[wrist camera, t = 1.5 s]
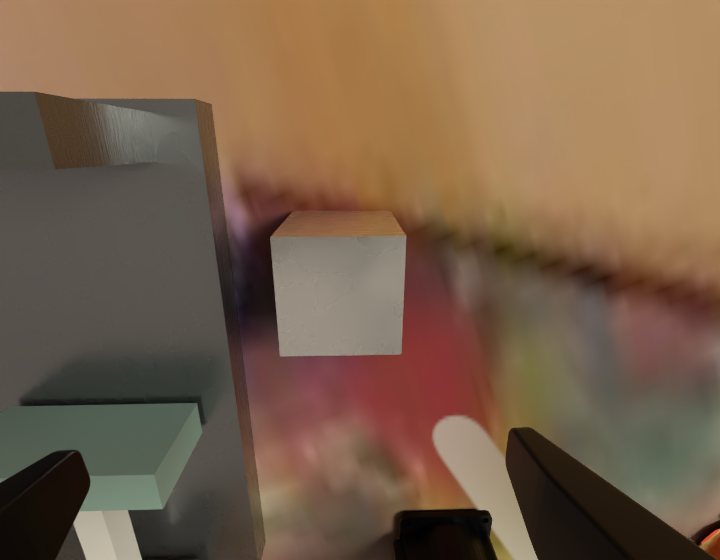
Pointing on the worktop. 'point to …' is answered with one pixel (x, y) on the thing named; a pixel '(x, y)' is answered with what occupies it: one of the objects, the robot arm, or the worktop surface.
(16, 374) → the press
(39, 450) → the ram
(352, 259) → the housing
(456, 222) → the worktop surface
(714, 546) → the vessel
